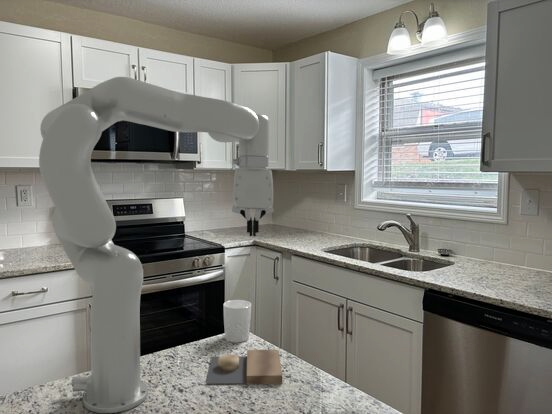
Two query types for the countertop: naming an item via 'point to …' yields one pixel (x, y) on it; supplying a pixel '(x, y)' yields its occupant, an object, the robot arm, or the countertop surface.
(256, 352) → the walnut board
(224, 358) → the cream dome knob
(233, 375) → the rubber mat
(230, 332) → the white cup
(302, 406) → the countertop surface
